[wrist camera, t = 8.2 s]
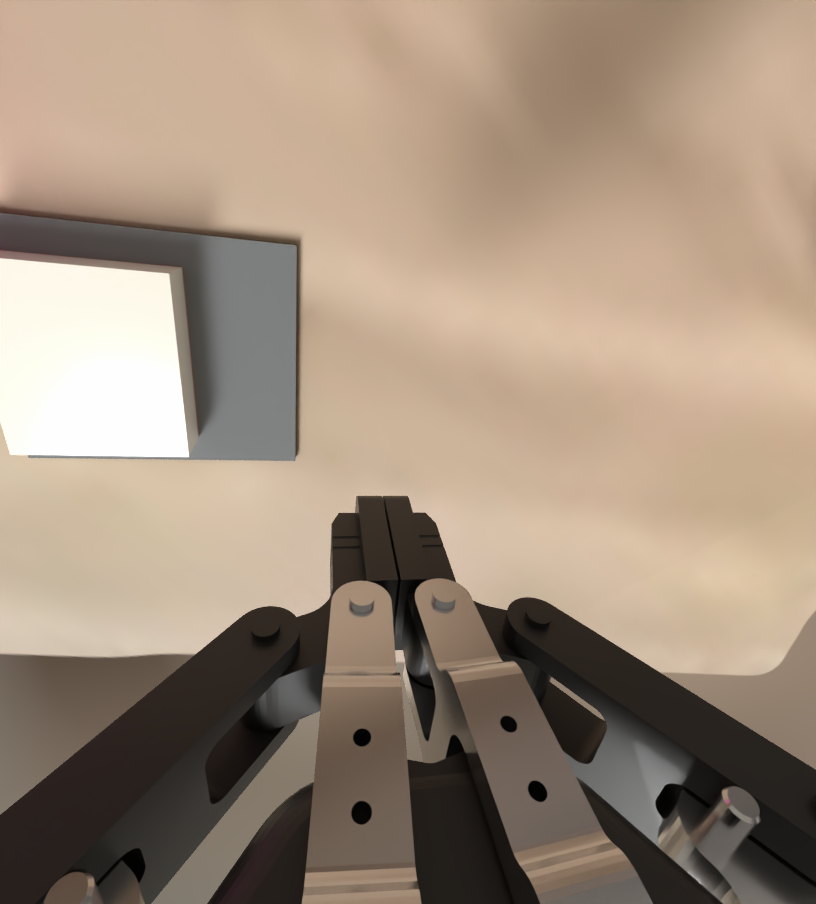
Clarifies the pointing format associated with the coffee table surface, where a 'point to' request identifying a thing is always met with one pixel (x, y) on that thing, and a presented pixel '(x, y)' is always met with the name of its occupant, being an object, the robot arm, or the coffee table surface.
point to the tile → (94, 358)
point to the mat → (207, 325)
